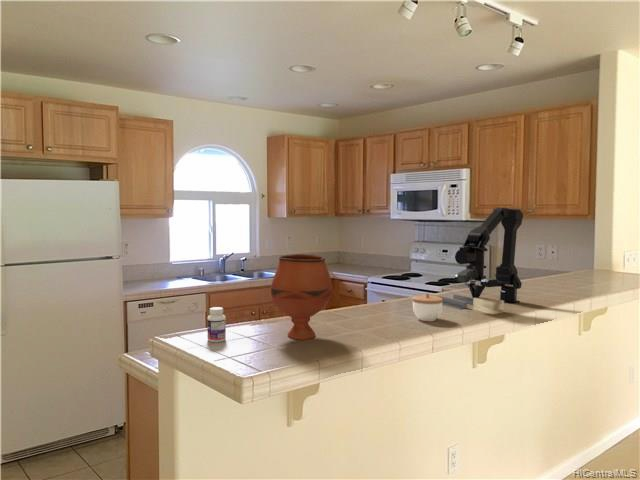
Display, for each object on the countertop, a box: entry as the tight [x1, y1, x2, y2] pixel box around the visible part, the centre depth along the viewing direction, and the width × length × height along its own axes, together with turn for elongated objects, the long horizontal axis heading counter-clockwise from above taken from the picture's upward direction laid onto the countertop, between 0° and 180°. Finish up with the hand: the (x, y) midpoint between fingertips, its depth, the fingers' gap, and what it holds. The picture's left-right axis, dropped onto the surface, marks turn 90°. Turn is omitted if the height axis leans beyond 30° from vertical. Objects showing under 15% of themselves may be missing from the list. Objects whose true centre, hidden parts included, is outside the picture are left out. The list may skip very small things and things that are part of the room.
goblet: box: [270, 253, 333, 340], centre depth 159 cm, size 19×19×25 cm
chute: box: [436, 293, 473, 310], centre depth 214 cm, size 15×16×2 cm
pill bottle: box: [206, 306, 227, 343], centre depth 154 cm, size 5×5×10 cm
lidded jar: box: [411, 292, 443, 322], centre depth 185 cm, size 11×11×9 cm
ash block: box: [472, 296, 505, 315], centre depth 201 cm, size 6×10×5 cm, turn 28°
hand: (475, 301), depth 206 cm, fingers closed
